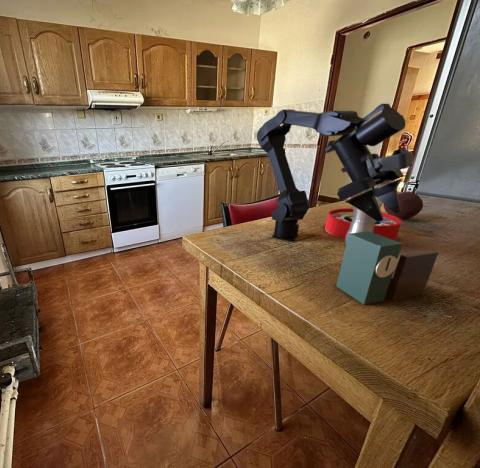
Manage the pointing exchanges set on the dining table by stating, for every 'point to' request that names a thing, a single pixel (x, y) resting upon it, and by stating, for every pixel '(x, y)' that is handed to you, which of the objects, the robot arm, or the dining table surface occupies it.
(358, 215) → the silver metal bottle
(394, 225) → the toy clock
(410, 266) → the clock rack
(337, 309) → the dining table surface
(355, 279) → the clock
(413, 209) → the potato
